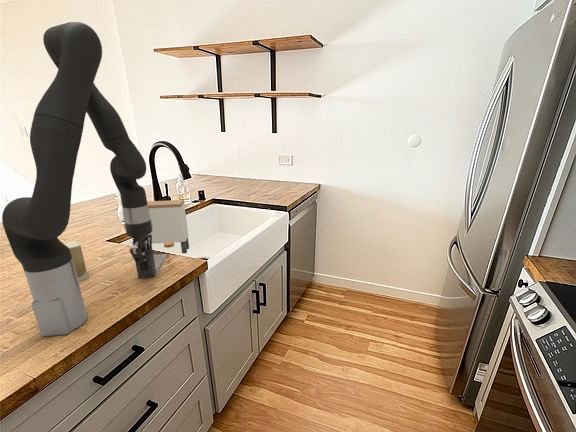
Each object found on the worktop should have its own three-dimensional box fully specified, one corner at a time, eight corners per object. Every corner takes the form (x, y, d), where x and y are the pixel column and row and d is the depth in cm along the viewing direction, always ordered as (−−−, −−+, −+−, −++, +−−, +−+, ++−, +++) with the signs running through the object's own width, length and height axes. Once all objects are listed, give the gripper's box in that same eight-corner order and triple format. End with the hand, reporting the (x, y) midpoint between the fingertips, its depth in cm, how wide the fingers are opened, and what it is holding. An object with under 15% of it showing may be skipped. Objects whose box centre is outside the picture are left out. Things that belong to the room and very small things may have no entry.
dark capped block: (154, 277, 97) (149, 249, 94) (138, 278, 97) (133, 250, 94) (167, 256, 113) (163, 231, 110) (153, 257, 113) (149, 232, 110)
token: (172, 247, 121) (172, 244, 121) (162, 248, 121) (162, 245, 121) (175, 244, 125) (175, 241, 125) (166, 244, 125) (165, 241, 124)
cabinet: (186, 253, 115) (180, 204, 109) (138, 256, 113) (129, 206, 107) (189, 247, 121) (183, 199, 115) (144, 249, 119) (135, 201, 113)
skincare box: (69, 276, 99) (60, 243, 95) (84, 272, 102) (76, 239, 98) (73, 283, 95) (64, 249, 91) (89, 278, 97) (80, 245, 94)
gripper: (142, 225, 86) (151, 278, 91) (156, 212, 99) (163, 258, 105) (115, 227, 85) (125, 280, 91) (133, 213, 99) (141, 260, 104)
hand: (146, 268), depth 98 cm, fingers closed on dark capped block, 2 cm apart
